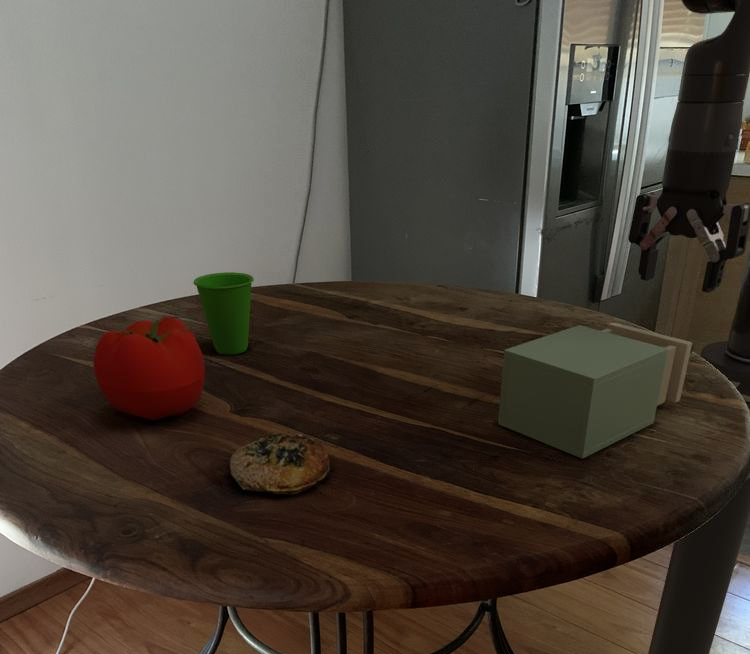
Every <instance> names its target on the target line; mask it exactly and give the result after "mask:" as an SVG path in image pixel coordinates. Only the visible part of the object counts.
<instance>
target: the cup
mask: <svg viewBox="0 0 750 654" xmlns="http://www.w3.org/2000/svg"><path fill="white" fill-rule="evenodd" d="M254 280H255V278H254V277H253V275H250V274H249V273H245V272H244V273H243V272H234V271H233V272H227V271H226V272H215V273H208V274H204V275H201V276H197V277H196V278H195V279H194V280H193V285H194V286H196V289H197V293H198V296H199V300H200V304H201V306H202V310H203V314H204V317H205V320H206V324H207V327H208V330H209V333H210V334H209V335H210V337H211V341H212V344H213V348H214V349H215V351H216V352H217V353H218V354H220V355H237V354H241V353H244V352H246V351H247V349H248V347H249V334H250V317H251V316H250V314H251V302H252V301H251V299H252V298H251V297H252V284H253V282H254Z"/></svg>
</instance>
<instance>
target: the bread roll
mask: <svg viewBox="0 0 750 654" xmlns="http://www.w3.org/2000/svg"><path fill="white" fill-rule="evenodd" d="M229 462H230V464H229V468H230V473H229V474H230V475H231V476H232V477H233V479H234V480H235V482H237V484H238V486H239V487H241V488H242V490H247V491H252V492H260V493H261V492H263V493H264V492H267V493H268V492H269V493H271V494H275V495H286V496H287V495H296V494H300V493H303V492H305V491H308V490H309V489H311V488H312V487H314V486H315V485H317V484H318V483H320V482H321V481H322V480H324V479H325V478H326V477H327V475H328V474H329V472H330V471H331V459H330V456H329V452H327V450H326V448H325V447H324V446H323V444H322V443H321V442H319V440H316V439H315V438H313V437H310V436H306V435H305V434H303V433H297V434H296V435H294V434H287V433H285V434H284V433H277V434H276V435H275V434H270V435H268V436H267V437H260V438H259V439H256V440H254V441H252V442H248V443H246V444H244V445H243V446H241V447H238V449H237V450H236V451H235V452H234V453H233V454H232V455H231V457H230V460H229Z"/></svg>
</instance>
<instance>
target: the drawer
mask: <svg viewBox="0 0 750 654" xmlns="http://www.w3.org/2000/svg"><path fill="white" fill-rule="evenodd" d="M600 331H604V332H607V333H611V334H615V335H619V336H622V337H626V338H630V339H634V340H637V341H641V342H645V343H649V344H652V345H656V346H660V347H664V348H667V349H668V352H667V358H666V363H665V368H664V373H663V378H662V383H661V388H660V393H659V398H658V403H657V407H658V406H659V405H662V404H664V403H665V402H667V401H668V402H671V403H674V404H676V403H678V402H680V401H681V398H682V393H683V388H684V384H685V379H686V374H687V370H688V365H689V360H690V355H691V354H693V351H694V344H693V342H692V341H688V340H686V339H685V340H684V339H682V338H681V339H680V338H678V337H677V338H676V337H672V336H669V335H665V334H660V333H657V332H653V331H651V330H650V331H649V330H647V329H646V330H645V329H641V328H638V327H634V326H630V325H626V324H623V323H618V322H615V321H613V322H610V323H608V325H607V328H605V329H601V330H600Z"/></svg>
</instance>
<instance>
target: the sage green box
mask: <svg viewBox="0 0 750 654" xmlns="http://www.w3.org/2000/svg"><path fill="white" fill-rule="evenodd" d="M667 352H668V349H667V348H664V347H660V346H656V345H652V344H649V343H645V342H641V341H637V340H634V339H630V338H626V337H622V336H619V335H615V334H611V333H607V332H604V331H601V330H599V329H597V328H592V327H589V326H585V325H581V324H578V325H576V326H572V327H569V328H566V329H562V330H560V331H557V332H554V333H551V334H548V335H545V336H542V337H538V338H536V339H533V340H529V341H527V342H524V343H520V344H518V345H515V346H512V347H509V348H506V349H504V350H503V360H502V362H503V363H502V370H501V371H502V372H501V384H500V385H501V386H500V398H499V409H498V410H499V411H498V419H497V420H498V422H497V425H500V426H502V427H504V428H507V429H508V430H511V431H514V432H517V433H519V434H521V435H524V436H526V437H528V438H531V439H534V440H536V441H538V442H541V443H543V444H545V445H548V446H550V447H552V448H555V449H558V450H560V451H563V452H565V453H567V454H569V455H572V456H575V457H577V458H579V459H585V458H587V457H589V456H591V455H593V454H595V453H597V452H599V451H601V450H603V449H605V448H607V447H609V446H611V445H613V444H614V443H615V444H616V443H617V442H619V441H621V440H624V439H625V438H627V437H628V436H631V435H633V434H635V433H637V432H639V431H641V430H644V428H645V429H646V428H647V427H649V426H651V425H653V424H654V422H655V417H656V413H657V408H658V406H657V403H658V398H659V393H660V388H661V383H662V378H663V373H664V368H665V363H666V358H667Z"/></svg>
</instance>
